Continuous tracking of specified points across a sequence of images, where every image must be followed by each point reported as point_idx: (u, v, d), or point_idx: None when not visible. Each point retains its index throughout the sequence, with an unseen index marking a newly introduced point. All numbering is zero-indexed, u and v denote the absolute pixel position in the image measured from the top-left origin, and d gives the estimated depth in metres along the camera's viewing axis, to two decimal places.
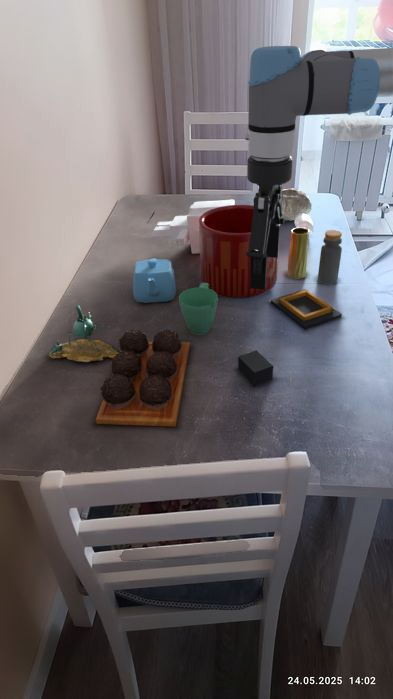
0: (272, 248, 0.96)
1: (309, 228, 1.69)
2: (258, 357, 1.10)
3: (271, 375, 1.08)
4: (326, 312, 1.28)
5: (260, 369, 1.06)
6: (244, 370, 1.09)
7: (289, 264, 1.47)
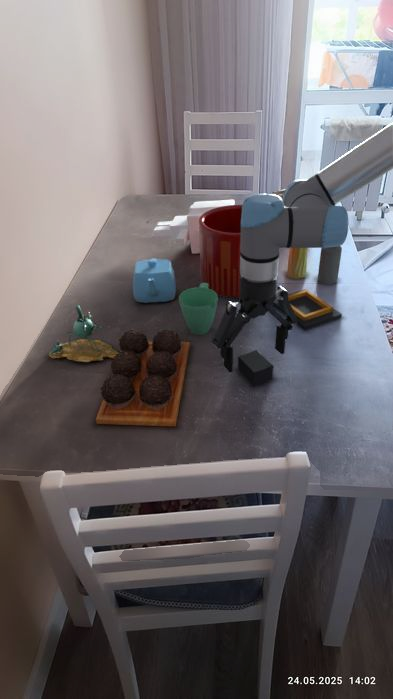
0: (279, 345, 1.09)
1: None
2: (258, 357, 1.10)
3: (271, 375, 1.08)
4: (326, 312, 1.28)
5: (260, 369, 1.06)
6: (244, 370, 1.09)
7: (289, 264, 1.47)
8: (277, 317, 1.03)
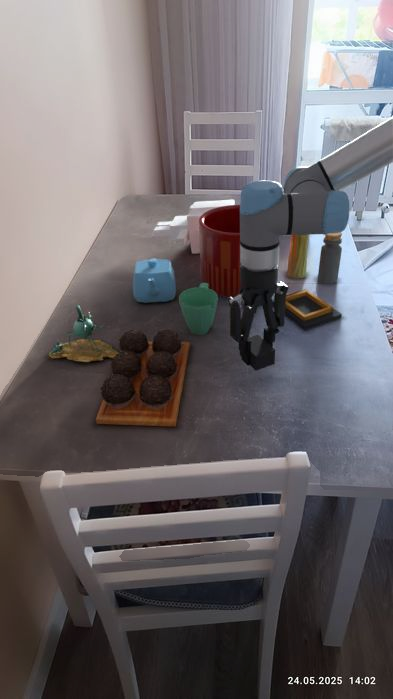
0: None
1: None
2: (260, 341, 1.07)
3: (273, 359, 1.06)
4: (326, 312, 1.28)
5: (262, 353, 1.03)
6: None
7: (289, 264, 1.47)
8: (270, 314, 1.01)
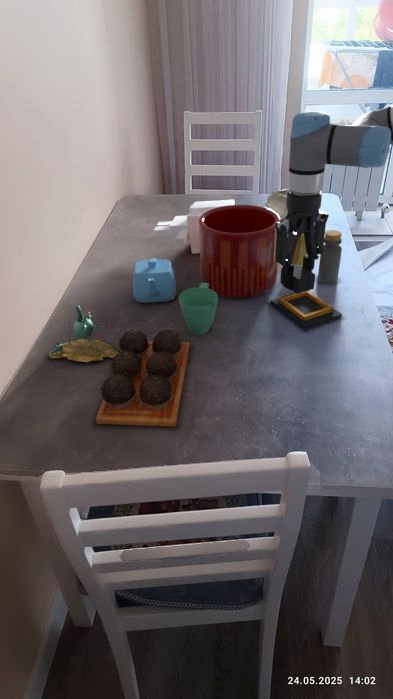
0: None
1: None
2: (300, 268, 1.18)
3: (313, 284, 1.17)
4: (326, 312, 1.28)
5: (303, 277, 1.14)
6: None
7: None
8: (311, 240, 1.12)
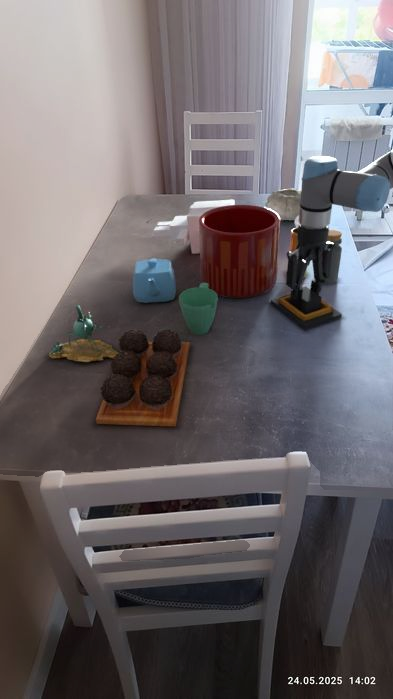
0: None
1: None
2: (308, 291, 1.31)
3: (319, 305, 1.29)
4: (326, 312, 1.28)
5: (311, 299, 1.27)
6: None
7: None
8: (319, 267, 1.25)
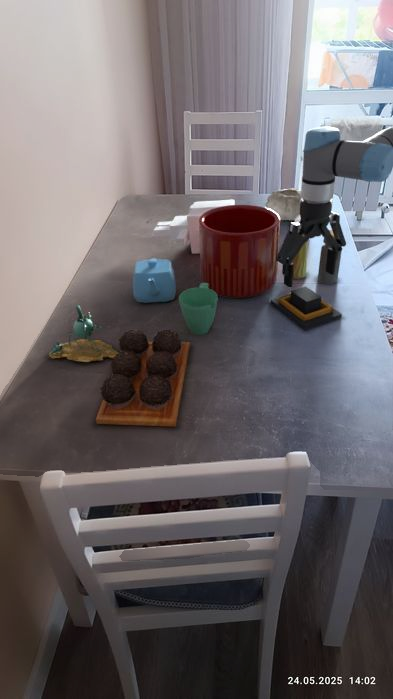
0: (330, 266, 1.28)
1: None
2: (308, 291, 1.31)
3: (319, 305, 1.29)
4: (326, 312, 1.28)
5: (311, 299, 1.27)
6: (297, 302, 1.30)
7: None
8: (330, 239, 1.22)
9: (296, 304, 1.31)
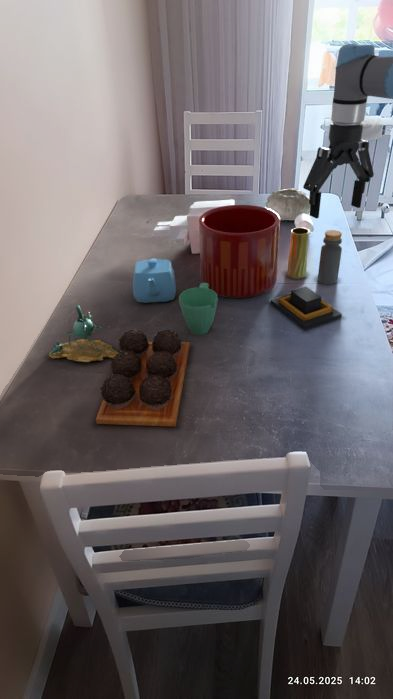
0: (356, 199, 1.26)
1: (309, 228, 1.69)
2: (308, 291, 1.31)
3: (319, 305, 1.29)
4: (326, 312, 1.28)
5: (311, 299, 1.27)
6: (297, 302, 1.30)
7: (289, 264, 1.47)
8: (358, 167, 1.19)
9: (296, 304, 1.31)
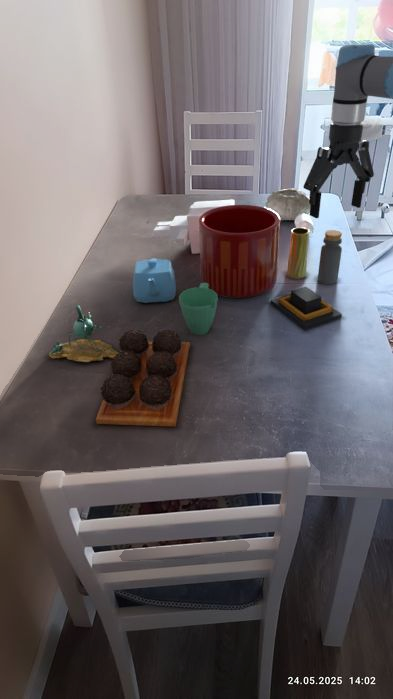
0: (356, 199, 1.26)
1: (309, 228, 1.69)
2: (308, 291, 1.31)
3: (319, 305, 1.29)
4: (326, 312, 1.28)
5: (311, 299, 1.27)
6: (297, 302, 1.30)
7: (289, 264, 1.47)
8: (358, 167, 1.19)
9: (296, 304, 1.31)
